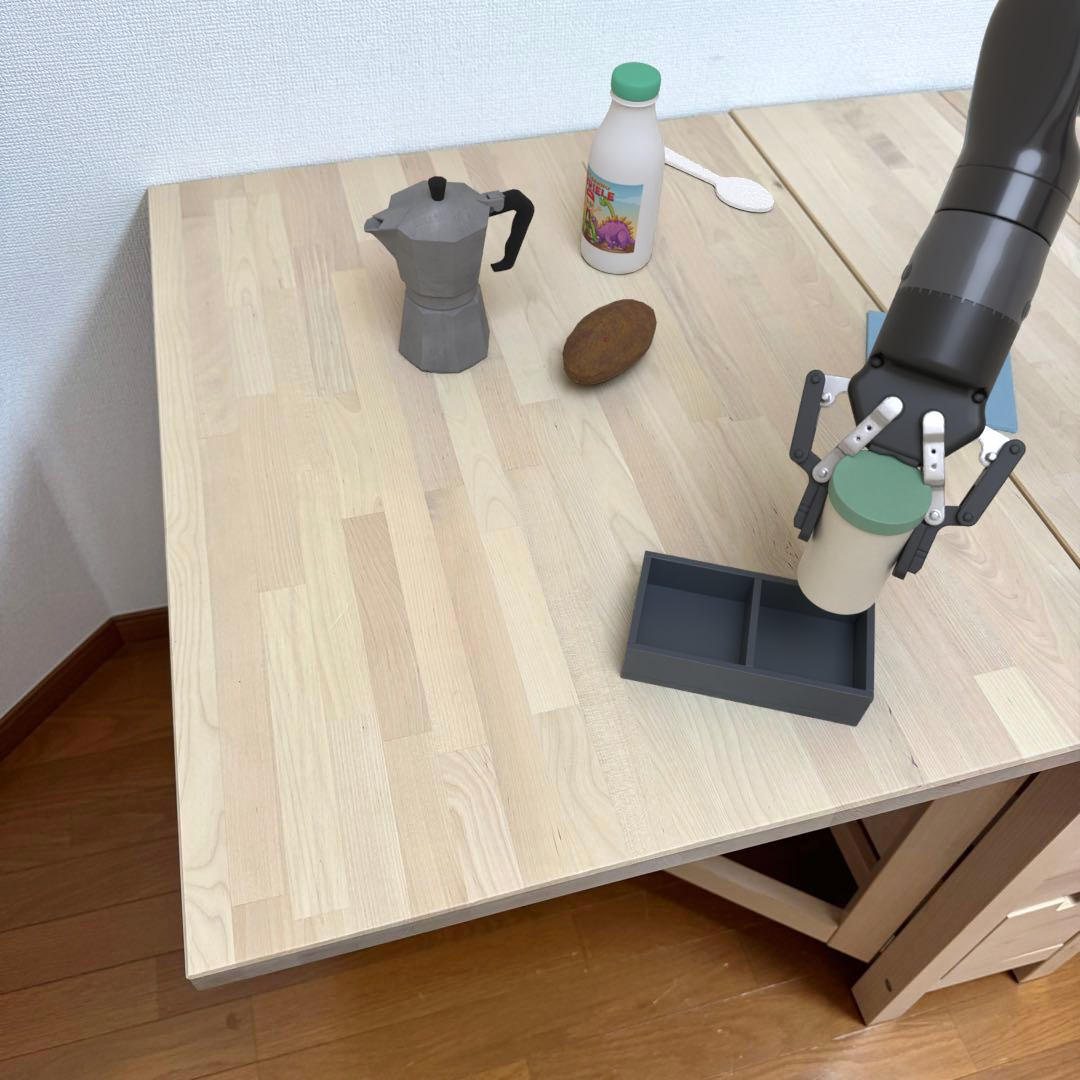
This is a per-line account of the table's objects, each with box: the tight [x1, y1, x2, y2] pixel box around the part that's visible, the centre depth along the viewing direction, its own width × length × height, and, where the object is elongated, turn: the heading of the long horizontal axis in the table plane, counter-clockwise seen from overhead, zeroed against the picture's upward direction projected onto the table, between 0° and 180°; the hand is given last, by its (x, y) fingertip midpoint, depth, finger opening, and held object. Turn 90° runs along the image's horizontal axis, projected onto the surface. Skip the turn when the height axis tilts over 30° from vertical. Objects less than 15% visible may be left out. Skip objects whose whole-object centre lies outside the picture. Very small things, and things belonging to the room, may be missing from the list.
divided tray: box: [620, 550, 876, 727], centre depth 76 cm, size 9×18×4 cm, turn 78°
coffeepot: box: [363, 175, 536, 374], centre depth 91 cm, size 15×9×18 cm, turn 110°
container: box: [796, 449, 932, 615], centre depth 65 cm, size 6×6×10 cm
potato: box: [561, 298, 658, 386], centre depth 94 cm, size 7×12×7 cm, turn 142°
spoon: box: [664, 145, 775, 213], centre depth 117 cm, size 5×18×1 cm, turn 48°
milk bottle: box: [580, 61, 666, 275], centre depth 100 cm, size 8×8×20 cm
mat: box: [865, 309, 1019, 434], centre depth 98 cm, size 14×14×1 cm
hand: (849, 557), depth 64 cm, fingers closed on container, 5 cm apart
